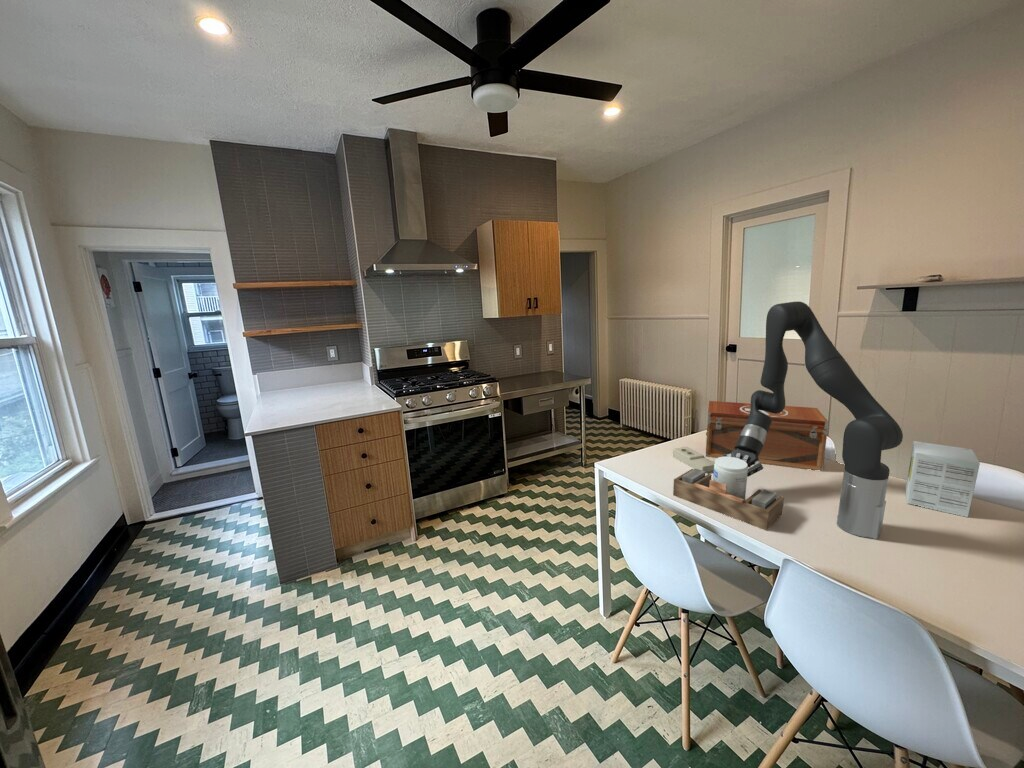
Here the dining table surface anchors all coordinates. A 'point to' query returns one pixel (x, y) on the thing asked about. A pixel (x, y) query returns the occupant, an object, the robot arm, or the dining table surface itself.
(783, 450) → the wooden box
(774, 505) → the rack
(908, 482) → the supplement box
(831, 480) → the dining table surface
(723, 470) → the supplement tub
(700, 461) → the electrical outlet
